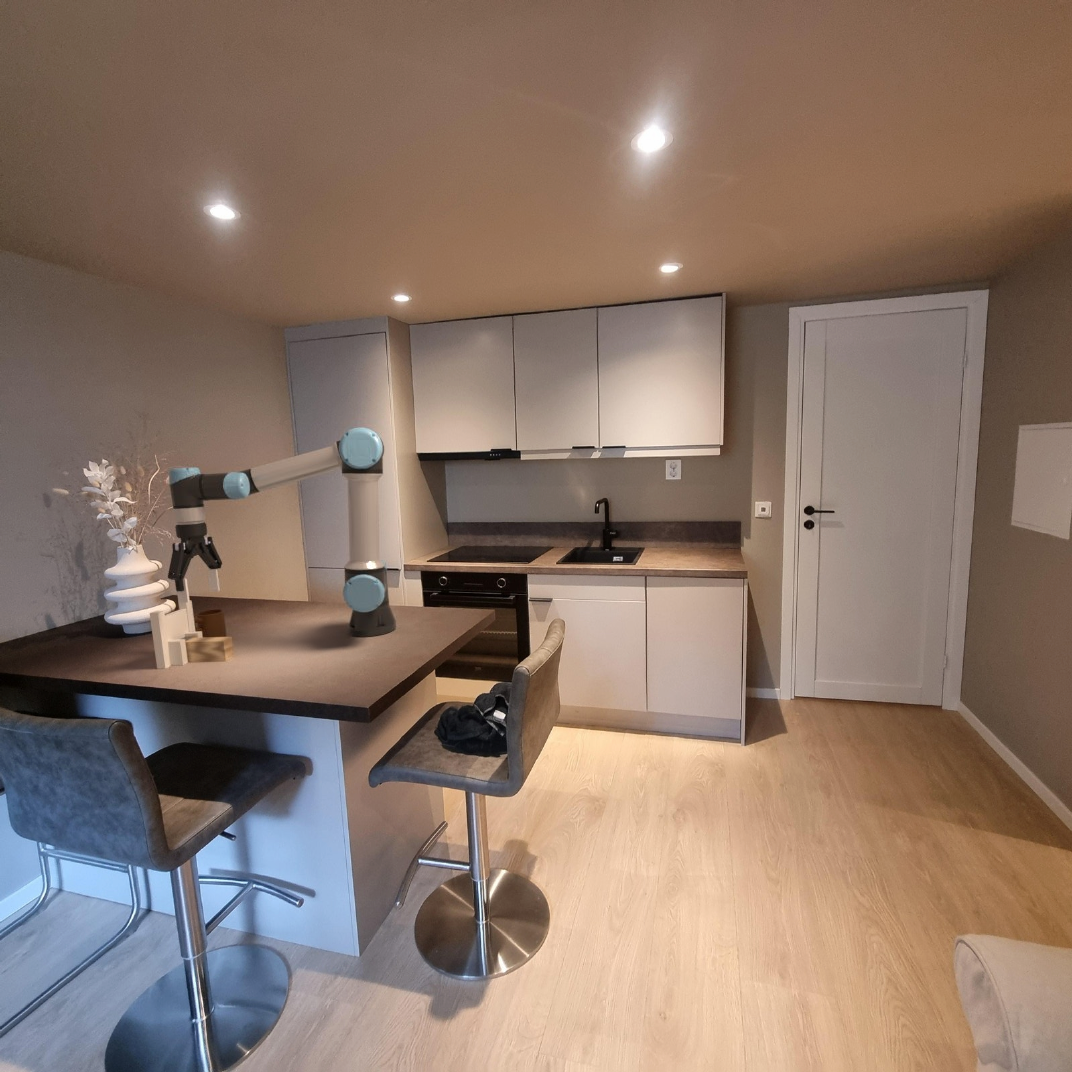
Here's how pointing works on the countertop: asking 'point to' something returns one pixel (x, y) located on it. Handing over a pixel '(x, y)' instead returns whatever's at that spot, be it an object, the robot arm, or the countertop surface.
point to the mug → (211, 623)
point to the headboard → (173, 635)
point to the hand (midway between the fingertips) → (200, 596)
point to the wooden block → (209, 649)
